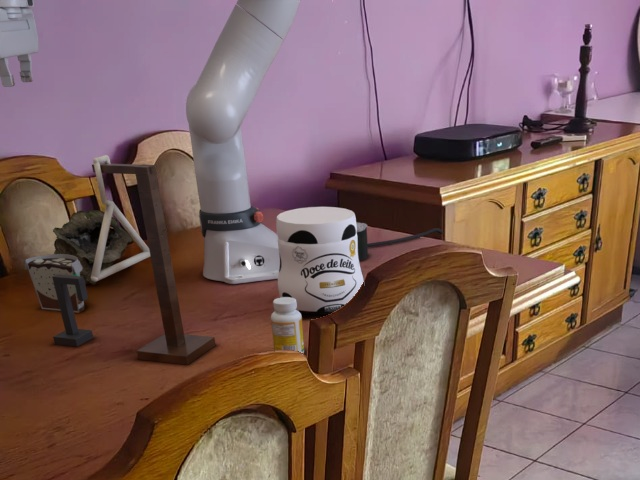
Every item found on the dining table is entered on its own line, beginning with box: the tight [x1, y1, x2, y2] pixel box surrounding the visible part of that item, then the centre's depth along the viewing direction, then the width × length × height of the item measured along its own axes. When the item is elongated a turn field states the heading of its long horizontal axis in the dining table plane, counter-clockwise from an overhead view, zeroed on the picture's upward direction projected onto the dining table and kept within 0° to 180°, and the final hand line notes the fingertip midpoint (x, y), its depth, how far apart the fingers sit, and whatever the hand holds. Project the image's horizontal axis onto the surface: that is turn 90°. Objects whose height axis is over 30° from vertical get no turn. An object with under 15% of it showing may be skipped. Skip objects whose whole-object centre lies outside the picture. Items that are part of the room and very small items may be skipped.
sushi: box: [356, 221, 369, 262], centre depth 201 cm, size 8×8×8 cm
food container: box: [24, 253, 85, 314], centre depth 172 cm, size 12×6×10 cm, turn 71°
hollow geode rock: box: [52, 209, 134, 286], centre depth 193 cm, size 28×13×15 cm
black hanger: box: [52, 274, 94, 348], centre depth 154 cm, size 7×5×12 cm
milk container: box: [275, 206, 365, 316], centre depth 166 cm, size 17×17×18 cm
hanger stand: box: [91, 154, 217, 366], centre depth 143 cm, size 14×17×32 cm
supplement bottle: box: [270, 297, 305, 354], centre depth 147 cm, size 5×5×10 cm
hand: (18, 84), depth 157 cm, fingers open, 8 cm apart
